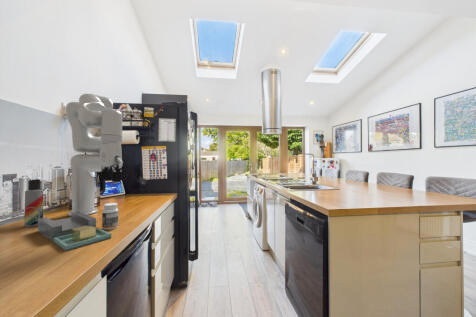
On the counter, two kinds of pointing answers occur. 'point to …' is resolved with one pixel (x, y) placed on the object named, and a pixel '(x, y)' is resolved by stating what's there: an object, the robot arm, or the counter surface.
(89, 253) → the counter surface
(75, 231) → the chip
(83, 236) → the chip
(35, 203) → the lotion bottle
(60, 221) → the slot block
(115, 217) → the pill bottle
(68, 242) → the tray
